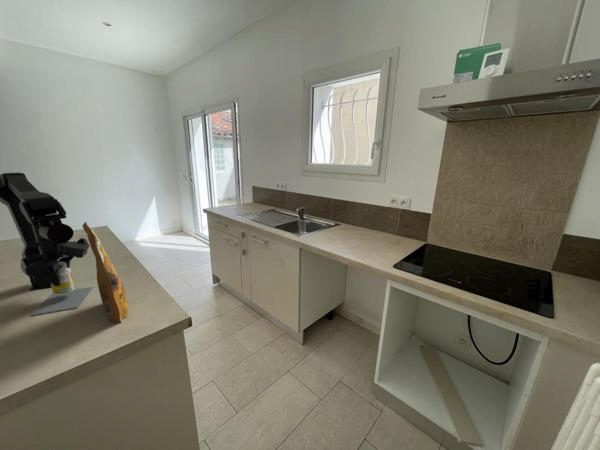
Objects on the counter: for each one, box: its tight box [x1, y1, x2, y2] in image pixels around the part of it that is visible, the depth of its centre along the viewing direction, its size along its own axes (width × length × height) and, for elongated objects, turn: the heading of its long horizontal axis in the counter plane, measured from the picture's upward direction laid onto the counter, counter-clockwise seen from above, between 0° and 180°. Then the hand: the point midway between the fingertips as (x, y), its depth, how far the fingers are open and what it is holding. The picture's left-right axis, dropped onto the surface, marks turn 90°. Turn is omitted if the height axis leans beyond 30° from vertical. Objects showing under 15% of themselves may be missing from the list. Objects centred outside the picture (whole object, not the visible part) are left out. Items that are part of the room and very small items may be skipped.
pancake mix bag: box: [82, 221, 129, 323], centre depth 72 cm, size 7×19×28 cm, turn 38°
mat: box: [30, 286, 94, 317], centre depth 80 cm, size 11×13×1 cm
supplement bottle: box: [50, 262, 77, 295], centre depth 79 cm, size 5×5×10 cm
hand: (62, 281), depth 80 cm, fingers closed on supplement bottle, 5 cm apart
